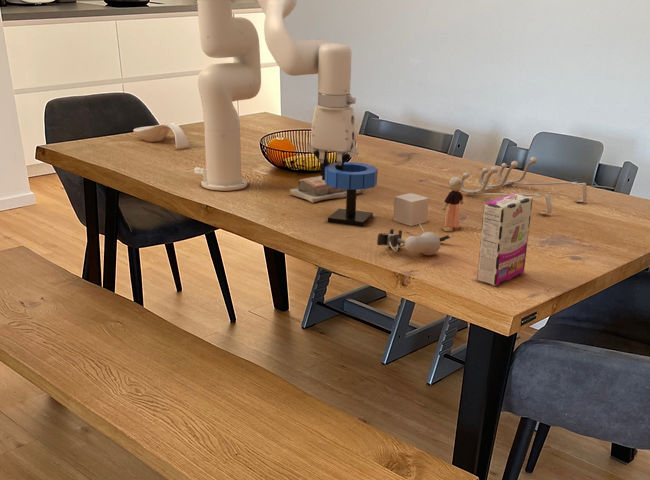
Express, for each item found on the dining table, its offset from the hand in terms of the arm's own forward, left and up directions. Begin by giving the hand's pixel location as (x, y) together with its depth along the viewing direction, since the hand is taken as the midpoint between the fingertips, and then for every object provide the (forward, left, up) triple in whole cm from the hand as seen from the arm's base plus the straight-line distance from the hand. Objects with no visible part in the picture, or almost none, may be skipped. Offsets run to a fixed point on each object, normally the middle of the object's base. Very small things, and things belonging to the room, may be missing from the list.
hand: (331, 179), depth 200 cm
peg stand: (+5, 0, -10) cm, 11 cm away
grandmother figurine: (+30, +3, -10) cm, 32 cm away
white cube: (+19, +5, -10) cm, 22 cm away
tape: (+5, 0, 0) cm, 5 cm away
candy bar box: (+46, -27, -10) cm, 54 cm away
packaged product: (-8, +20, -10) cm, 24 cm away
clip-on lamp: (+26, -17, -10) cm, 33 cm away
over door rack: (+43, +39, -10) cm, 59 cm away
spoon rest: (-79, +59, -10) cm, 99 cm away
